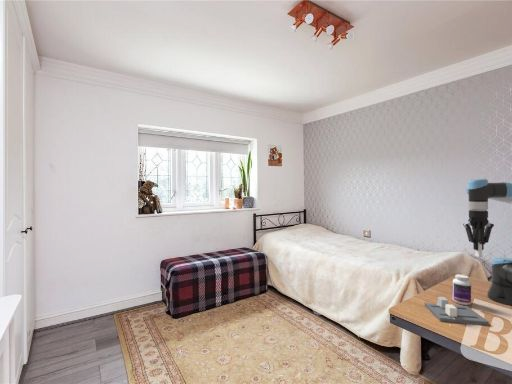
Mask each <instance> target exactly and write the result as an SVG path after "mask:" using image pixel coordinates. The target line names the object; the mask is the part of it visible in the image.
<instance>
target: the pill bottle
mask: <svg viewBox="0 0 512 384" xmlns="http://www.w3.org/2000/svg"><path fill="white" fill-rule="evenodd" d="M454 277H455V278H453V280H452V287H451V288H452V290H451V292H452V294H451V296H452V297H451V298H452V302H454V303H456V304H459V305H461V306H469V305H471V303H472V282H470V280H469V276H468V275H465V274H457V273H456V274H455V276H454Z"/></svg>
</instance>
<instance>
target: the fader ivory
mask: <svg viewBox="0 0 512 384" xmlns="http://www.w3.org/2000/svg"><path fill="white" fill-rule="evenodd" d="M453 305H454V304H449V303H448V304H445V313H447V314H448V315H449V316H451V317H457V308H456V307H455V306H453Z"/></svg>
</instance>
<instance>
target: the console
mask: <svg viewBox="0 0 512 384" xmlns="http://www.w3.org/2000/svg"><path fill="white" fill-rule="evenodd" d="M423 305H424V307H425V308H426V309H427V310H428V311H429V312H430V313H431V314H432V315H433V316H434V317H435V318H436V319H437V320H438V321H439V322H447V323H458V324H459V323H460V324H470V325H471V323H472V325H483V326H484V325H485V326H488V325H487V324H489V325H490V323H489V321H488V320H487V319H485V317H483V316H481V315H480V314H479V313H478V312H476V311H475V310H473V309H472V308H471V307H469V305H460V304H459V305H455V304H452V305H453V306H455V307H456V308H457V317H451V316H449V315H448V314H447V313H445V308H441V307H440V306H439V305H438V302H437V303H429V302H424V304H423Z"/></svg>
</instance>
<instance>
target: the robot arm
mask: <svg viewBox="0 0 512 384" xmlns="http://www.w3.org/2000/svg"><path fill="white" fill-rule="evenodd" d="M465 191H466V194H467V195H468V209H469V210H468V221H467V222H466V223H463V224H462V225H463V227H464V228H465V232H466V235H467V240H468V241H469V243H472V244H473V248H472V249H473V250H474V253H475V254H474V256H475V257H477V258H482V257H483V251H484V248H485V247H484V245H486V243H489V239H490V237H491V233H492V230H493V228H494V226H495V224H494V223H491V222H489V219H488V218H489V211H488V210H489V200H493V201H496V202H501V203H506V204H511V205H512V183H511V182H504V181H503V182H489V181H488V179H486V178H484V179H483V178H482V179H480V178H479V179H470V180H469V181H468V185H467V186H466V188H465ZM486 295H487V298H488V299H490V300H492V301H494V302H497V303H500V304H503V305H507V306H508V305H509V306H512V258H507V257H494V258H493V259H492V264H491V284H490V286H489V288H488V290H487V294H486Z"/></svg>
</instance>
